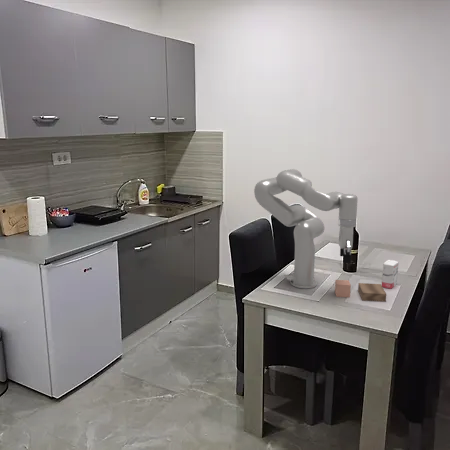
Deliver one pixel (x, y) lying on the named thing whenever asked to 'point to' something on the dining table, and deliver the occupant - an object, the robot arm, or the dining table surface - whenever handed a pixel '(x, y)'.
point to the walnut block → (371, 292)
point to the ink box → (390, 274)
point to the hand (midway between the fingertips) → (345, 259)
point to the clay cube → (342, 288)
